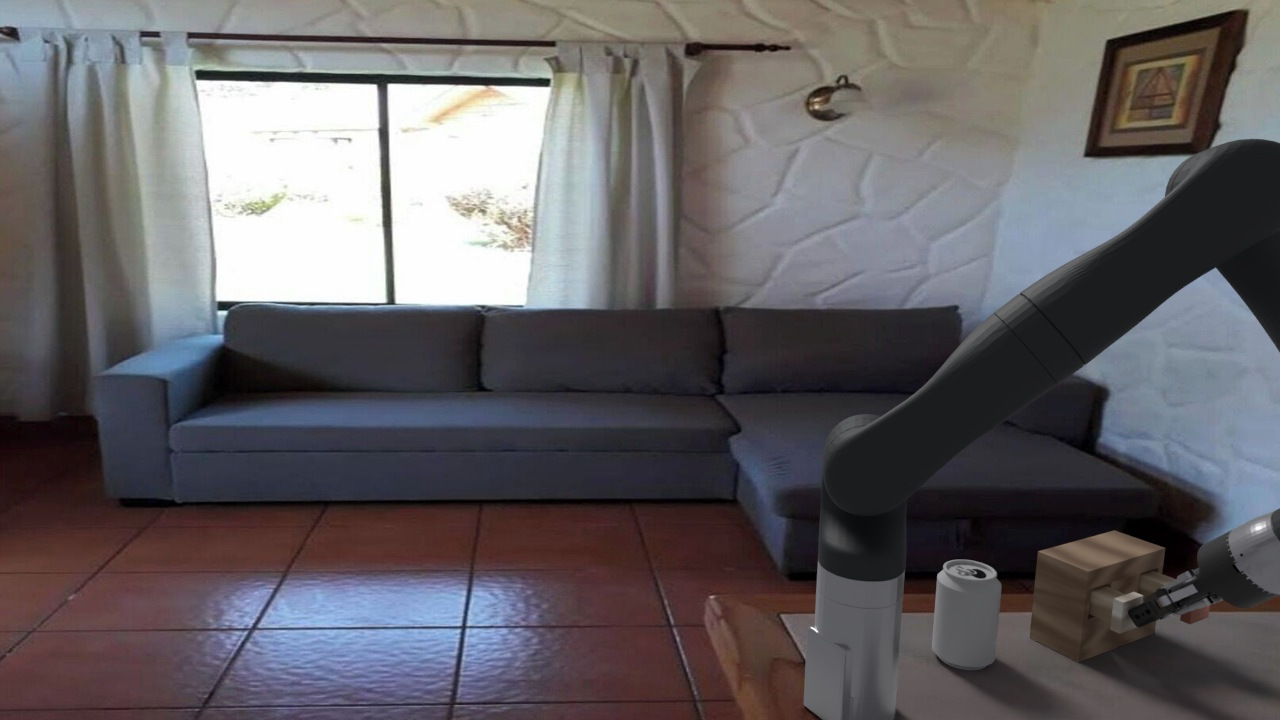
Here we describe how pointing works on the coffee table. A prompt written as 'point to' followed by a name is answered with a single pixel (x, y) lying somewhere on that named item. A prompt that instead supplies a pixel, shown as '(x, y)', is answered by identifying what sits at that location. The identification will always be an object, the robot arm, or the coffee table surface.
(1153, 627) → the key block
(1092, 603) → the key cream
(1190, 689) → the coffee table surface
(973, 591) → the can
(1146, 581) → the key red
